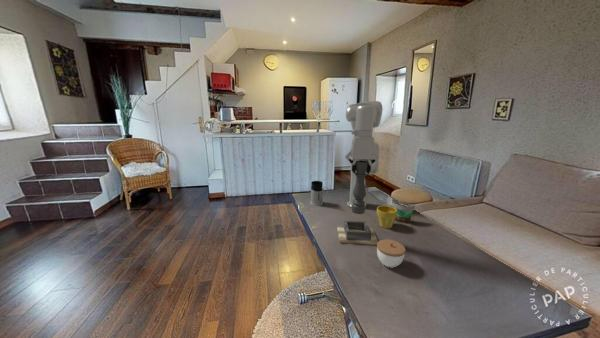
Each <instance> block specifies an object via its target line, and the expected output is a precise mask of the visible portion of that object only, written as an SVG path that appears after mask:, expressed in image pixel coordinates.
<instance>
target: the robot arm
mask: <svg viewBox="0 0 600 338" xmlns="http://www.w3.org/2000/svg"><path fill="white" fill-rule="evenodd" d="M383 110H384V108H383V104H382V102H381V101H380V100H379V101H378V100H375V101H373V100H372V101H371V100H370V101H369V100H367V101H365V100H363V101H359V102H358V103H353V104H349V105H348V106H347V107H346V109H345V119H346V120H347V122H350V124H351V129H352V131H351V135H353V137H352V142H351V148H350V151H349V152H348V153H347V154H346V155H345V157H344V158H345V159H346V160H347V161H348V162H349V163H350V164H349V167H350V169H349V170H350V184H349V185H350V186H349V187H350V188H349V200H348V201H347V202H346V204H347V206H348V207H350V208H352V204H353V201H354V199H355V198H354V195H353V190H354V187H355V184H356V175H355V173H356V165H355V163H356V160H365V161H368V168H367V170H366V172H365V173H366V174H367V175H376V174H377V173H378V172H379V164H380V145H379V143H377V142H375V137H373V132H374V131H373V130H374V129H376V128H378V127H379V126H380V125H381V121H382V116H383ZM364 184H365V185H366V180H365V182H364ZM363 200H364V201H365V198H364V199H363ZM364 205H365V208H366V207H367V203H366V202H365V204H364Z"/></svg>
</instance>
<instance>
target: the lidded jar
mask: <svg viewBox="0 0 600 338" xmlns="http://www.w3.org/2000/svg"><path fill="white" fill-rule="evenodd" d="M405 254H406V248H405V246H404V245H403V244H402V243H400V242H398V241H396V240H392V239H388V238H387V239H381V240H378V243H377V244H376V255H377V258H378V260H379V261H380V262H381V264H382V265H383V266H384V265H385V267H386V268H389V267H390V268H389V269H394V267H395V268H397V267H398V266H400V265H401V264H402V263H403V261H404V259H405Z"/></svg>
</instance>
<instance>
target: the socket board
mask: <svg viewBox="0 0 600 338" xmlns="http://www.w3.org/2000/svg"><path fill="white" fill-rule="evenodd" d="M336 230H337V235H338V241H339V243H340V244H355V245H356V244H360V245H377V243H378V242H379V240H378V238H377V236H376V234H375V231H374V229H373V228H371V227H369V224H368V223H367V221H363V220H362V221H360V220H359V221H356V220H344V221H343V226H337V229H336Z"/></svg>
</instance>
